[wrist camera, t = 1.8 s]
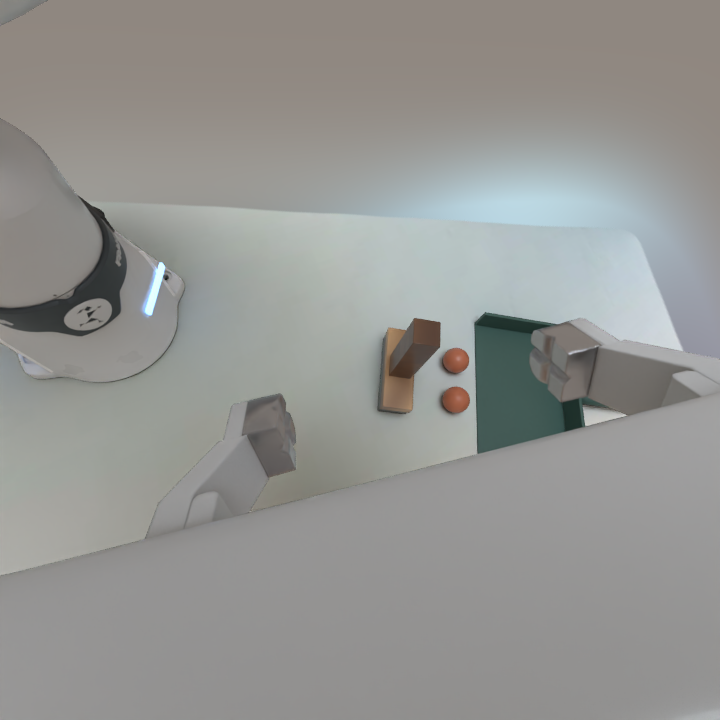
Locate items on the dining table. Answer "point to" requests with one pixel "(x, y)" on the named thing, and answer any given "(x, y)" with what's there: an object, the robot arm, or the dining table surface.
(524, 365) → the dustpan
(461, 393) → the ball
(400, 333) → the brush
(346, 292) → the dining table surface
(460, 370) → the ball
